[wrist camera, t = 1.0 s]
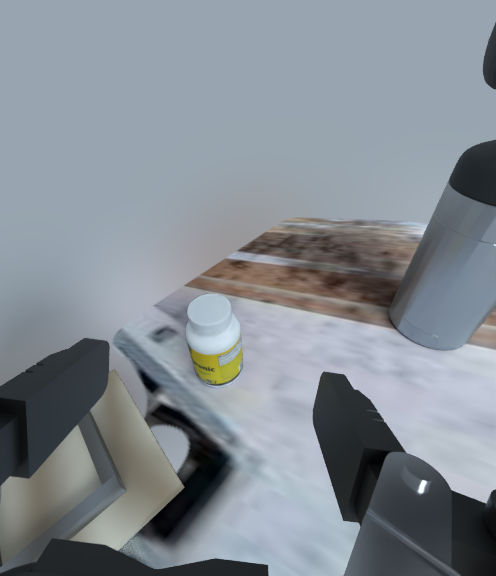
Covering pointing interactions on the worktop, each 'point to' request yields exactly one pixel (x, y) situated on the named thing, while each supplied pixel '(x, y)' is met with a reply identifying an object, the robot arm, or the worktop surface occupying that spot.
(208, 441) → the worktop surface
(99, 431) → the seat board
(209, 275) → the worktop surface
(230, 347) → the supplement bottle
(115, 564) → the robot arm
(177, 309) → the worktop surface
